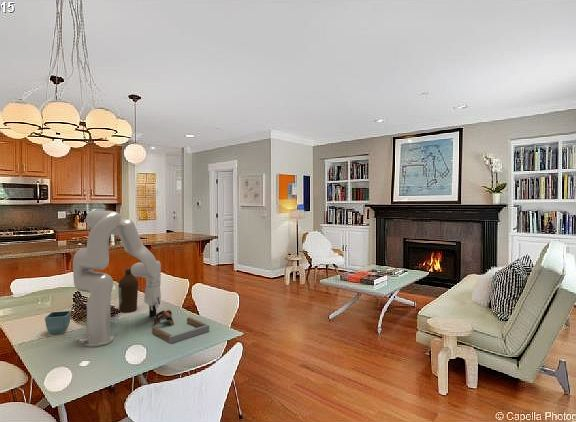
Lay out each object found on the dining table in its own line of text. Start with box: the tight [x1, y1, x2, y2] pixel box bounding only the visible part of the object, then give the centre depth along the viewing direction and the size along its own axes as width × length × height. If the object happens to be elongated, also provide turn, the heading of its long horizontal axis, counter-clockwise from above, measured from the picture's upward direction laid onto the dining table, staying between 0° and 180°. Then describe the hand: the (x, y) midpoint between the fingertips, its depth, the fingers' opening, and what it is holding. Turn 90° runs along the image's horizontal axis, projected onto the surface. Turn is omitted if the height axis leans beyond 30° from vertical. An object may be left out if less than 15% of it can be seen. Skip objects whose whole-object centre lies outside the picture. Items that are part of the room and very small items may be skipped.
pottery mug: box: [152, 309, 175, 327], centre depth 182 cm, size 12×10×8 cm
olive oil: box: [117, 267, 139, 314], centre depth 202 cm, size 11×11×25 cm
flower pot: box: [44, 310, 72, 335], centre depth 167 cm, size 9×9×9 cm
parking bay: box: [151, 316, 210, 344], centre depth 171 cm, size 21×18×3 cm
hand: (152, 316), depth 189 cm, fingers closed
